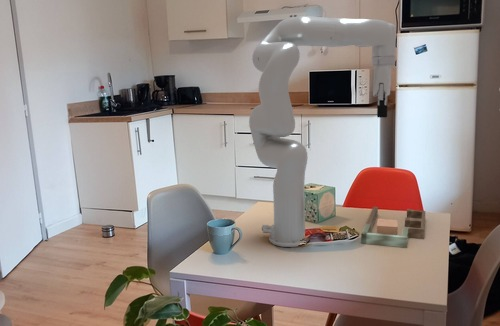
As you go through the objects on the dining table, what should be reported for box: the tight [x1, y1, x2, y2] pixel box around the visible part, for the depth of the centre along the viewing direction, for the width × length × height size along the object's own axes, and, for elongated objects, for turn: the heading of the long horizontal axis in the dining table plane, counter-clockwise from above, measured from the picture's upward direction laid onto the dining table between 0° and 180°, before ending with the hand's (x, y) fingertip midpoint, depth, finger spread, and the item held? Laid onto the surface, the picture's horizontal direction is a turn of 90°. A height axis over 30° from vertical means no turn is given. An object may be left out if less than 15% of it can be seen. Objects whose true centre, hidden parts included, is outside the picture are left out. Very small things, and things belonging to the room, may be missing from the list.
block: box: [376, 218, 399, 235], centre depth 150 cm, size 6×7×5 cm
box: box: [360, 206, 426, 248], centre depth 157 cm, size 18×30×3 cm, turn 159°
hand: (382, 117), depth 166 cm, fingers closed
